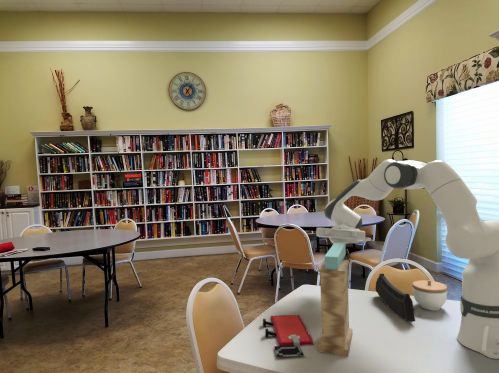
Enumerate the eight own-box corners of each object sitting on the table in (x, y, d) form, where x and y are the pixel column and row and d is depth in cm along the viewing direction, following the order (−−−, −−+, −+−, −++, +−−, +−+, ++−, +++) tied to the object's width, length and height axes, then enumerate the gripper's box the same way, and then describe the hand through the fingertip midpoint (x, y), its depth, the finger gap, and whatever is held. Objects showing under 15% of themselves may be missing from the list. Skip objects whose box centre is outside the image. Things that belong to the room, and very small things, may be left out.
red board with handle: (270, 360, 100) (319, 358, 101) (270, 350, 100) (319, 348, 101) (261, 319, 130) (299, 318, 131) (261, 312, 130) (299, 311, 131)
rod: (345, 254, 122) (345, 243, 122) (338, 270, 102) (337, 257, 102) (334, 253, 124) (334, 242, 124) (324, 269, 103) (324, 256, 103)
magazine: (418, 302, 118) (385, 258, 146) (409, 303, 118) (378, 259, 146) (412, 341, 123) (381, 291, 152) (403, 341, 123) (374, 292, 152)
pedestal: (352, 334, 115) (350, 259, 114) (348, 356, 101) (346, 271, 100) (326, 330, 118) (324, 258, 117) (318, 351, 104) (316, 269, 104)
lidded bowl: (406, 306, 138) (406, 279, 137) (421, 298, 145) (421, 273, 145) (438, 315, 127) (438, 287, 127) (453, 307, 135) (452, 280, 135)
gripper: (316, 225, 152) (315, 223, 139) (362, 229, 148) (367, 227, 134) (315, 239, 151) (315, 238, 138) (362, 243, 146) (366, 242, 133)
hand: (341, 232), depth 136 cm, fingers open, 8 cm apart
